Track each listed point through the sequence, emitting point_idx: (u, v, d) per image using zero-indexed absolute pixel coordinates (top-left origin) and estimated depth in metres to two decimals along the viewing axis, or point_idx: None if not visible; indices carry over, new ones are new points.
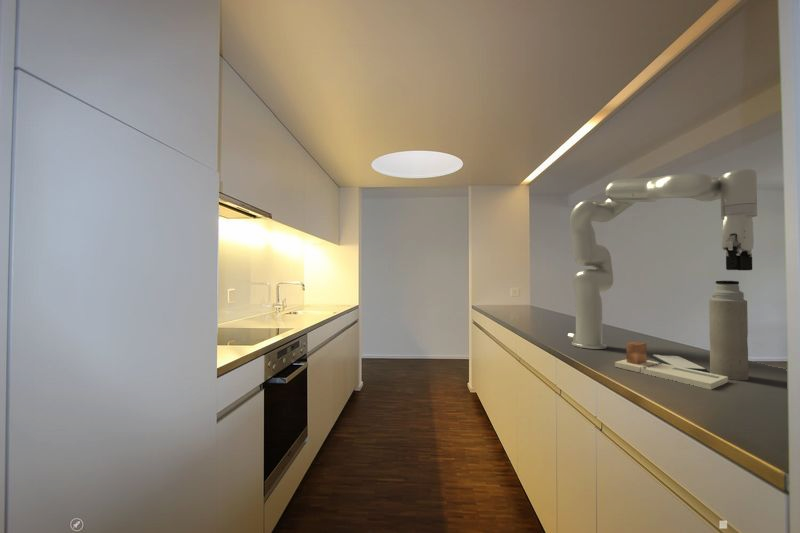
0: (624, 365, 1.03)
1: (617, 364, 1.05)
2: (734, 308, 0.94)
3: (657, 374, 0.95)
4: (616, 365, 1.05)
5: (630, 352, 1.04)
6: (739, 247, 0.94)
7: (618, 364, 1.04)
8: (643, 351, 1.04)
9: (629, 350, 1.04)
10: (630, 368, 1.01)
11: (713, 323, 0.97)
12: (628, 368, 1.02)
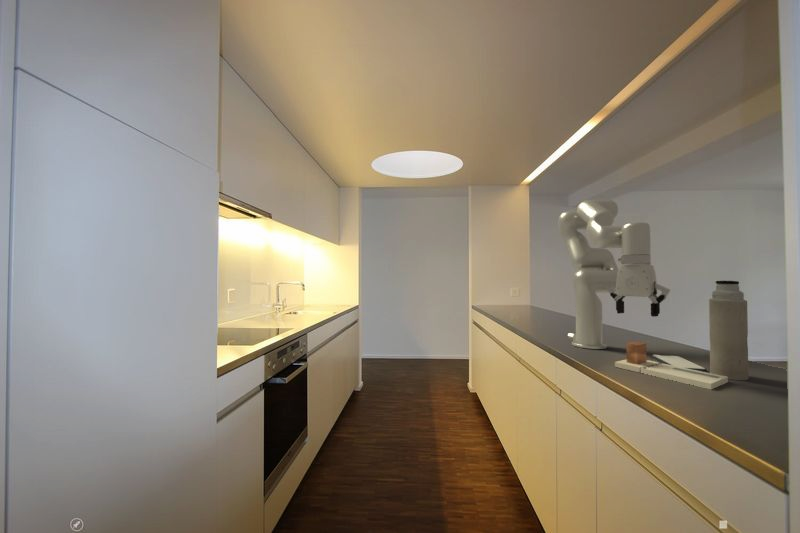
0: (624, 365, 1.03)
1: (617, 364, 1.05)
2: (734, 308, 0.94)
3: (657, 374, 0.95)
4: (616, 365, 1.05)
5: (630, 352, 1.04)
6: (655, 295, 1.02)
7: (618, 364, 1.04)
8: (643, 351, 1.04)
9: (629, 350, 1.04)
10: (630, 368, 1.01)
11: (713, 323, 0.97)
12: (628, 368, 1.02)
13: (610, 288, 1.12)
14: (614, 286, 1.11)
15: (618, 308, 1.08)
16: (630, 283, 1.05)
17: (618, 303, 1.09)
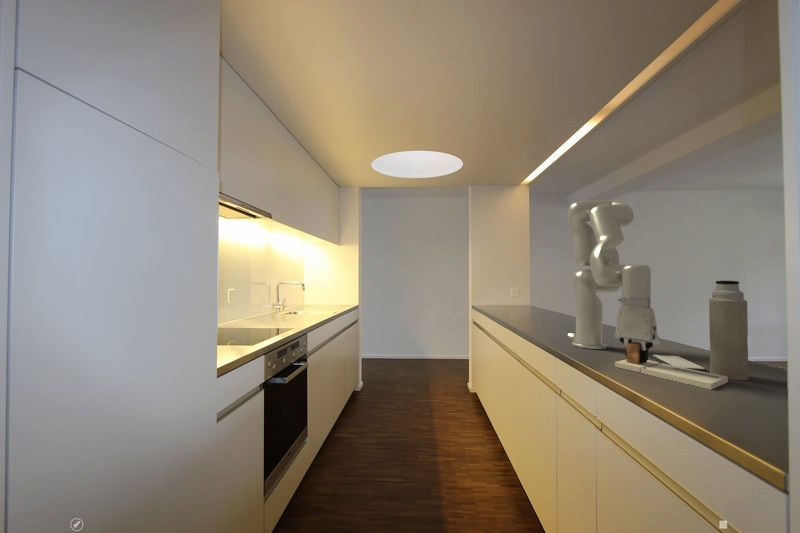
0: (624, 365, 1.03)
1: (617, 364, 1.05)
2: (734, 308, 0.94)
3: (657, 374, 0.95)
4: (616, 365, 1.05)
5: (630, 352, 1.04)
6: None
7: (618, 364, 1.04)
8: None
9: (629, 350, 1.04)
10: (630, 368, 1.01)
11: (713, 323, 0.97)
12: (628, 368, 1.02)
13: (616, 334, 1.10)
14: None
15: None
16: (630, 326, 1.04)
17: None
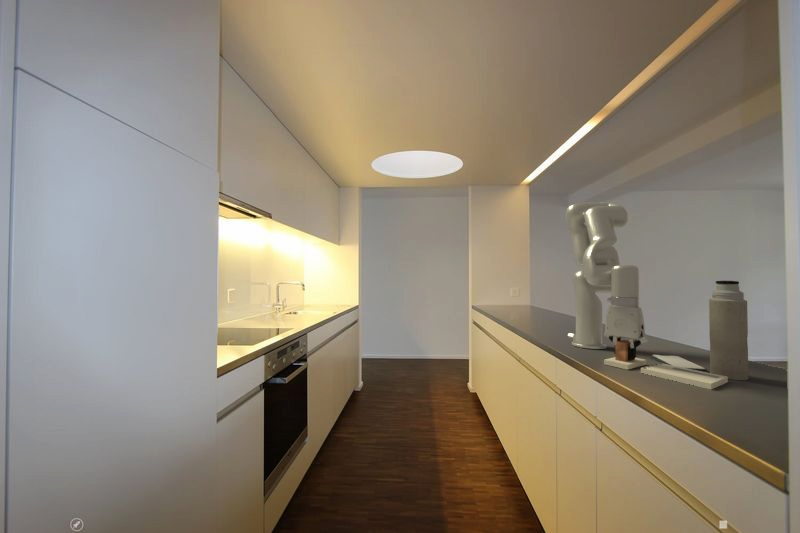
0: (613, 362, 1.06)
1: (606, 362, 1.08)
2: (734, 308, 0.94)
3: (657, 374, 0.95)
4: (605, 362, 1.08)
5: (619, 350, 1.07)
6: None
7: (607, 362, 1.07)
8: None
9: (618, 348, 1.07)
10: (618, 365, 1.04)
11: (713, 323, 0.97)
12: (616, 365, 1.05)
13: (605, 333, 1.13)
14: None
15: None
16: (619, 325, 1.07)
17: None
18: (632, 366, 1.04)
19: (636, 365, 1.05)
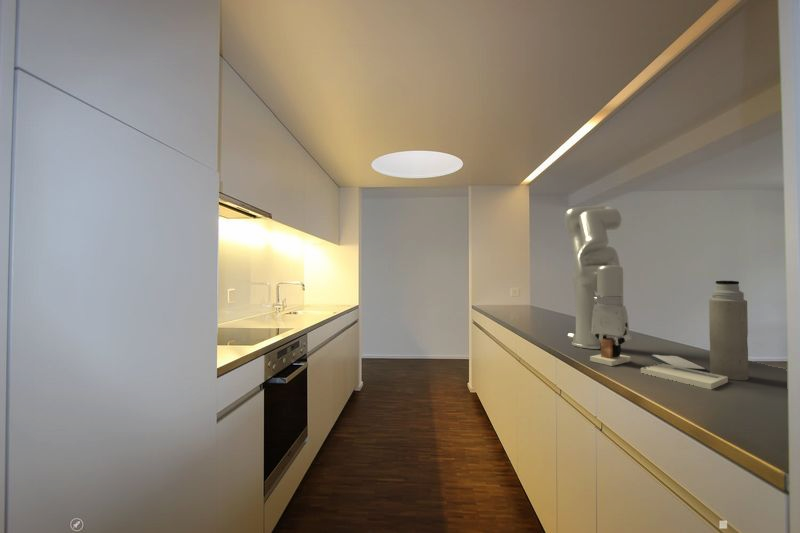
0: (598, 359, 1.10)
1: (592, 358, 1.11)
2: (734, 308, 0.94)
3: (657, 374, 0.95)
4: (591, 359, 1.12)
5: (604, 347, 1.11)
6: None
7: (593, 358, 1.11)
8: None
9: (603, 345, 1.11)
10: (603, 362, 1.08)
11: (713, 323, 0.97)
12: (601, 362, 1.09)
13: (592, 330, 1.17)
14: None
15: None
16: (604, 323, 1.11)
17: None
18: (616, 362, 1.08)
19: (620, 362, 1.09)
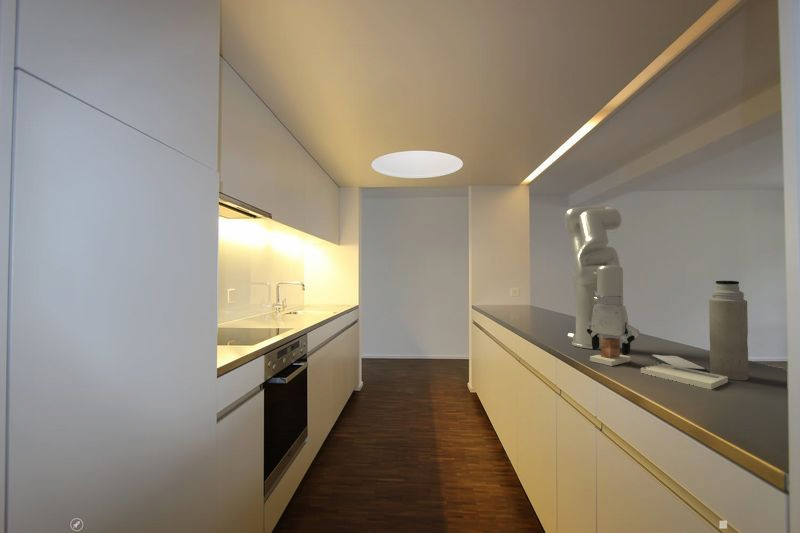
0: (598, 359, 1.10)
1: (592, 358, 1.12)
2: (734, 308, 0.94)
3: (657, 374, 0.95)
4: (591, 359, 1.12)
5: (604, 347, 1.11)
6: (627, 334, 1.09)
7: (593, 358, 1.11)
8: (616, 346, 1.11)
9: (603, 345, 1.11)
10: (603, 362, 1.08)
11: (713, 323, 0.97)
12: (601, 362, 1.09)
13: (586, 324, 1.19)
14: (590, 323, 1.18)
15: (593, 344, 1.16)
16: (604, 323, 1.11)
17: (593, 339, 1.16)
18: (616, 362, 1.08)
19: (620, 362, 1.09)
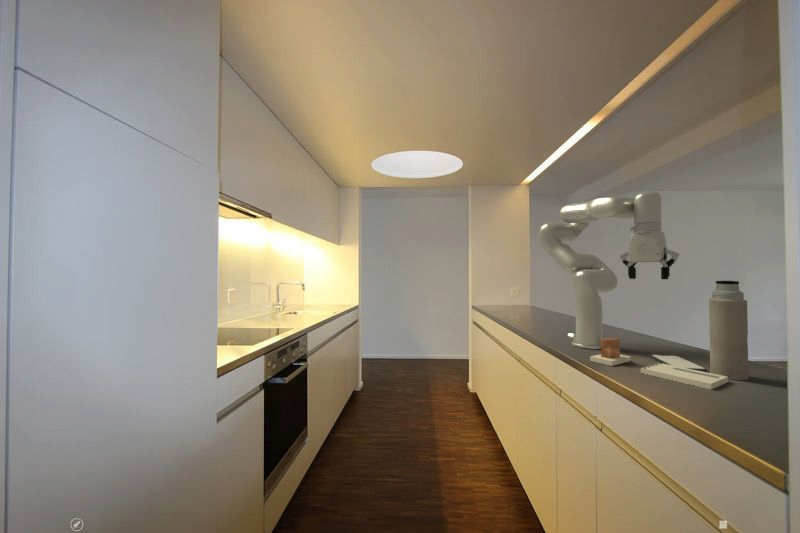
0: (598, 359, 1.10)
1: (592, 358, 1.12)
2: (734, 308, 0.94)
3: (657, 374, 0.95)
4: (591, 359, 1.12)
5: (604, 347, 1.11)
6: (665, 259, 1.09)
7: (593, 358, 1.11)
8: (616, 346, 1.11)
9: (603, 345, 1.11)
10: (603, 362, 1.08)
11: (713, 323, 0.97)
12: (601, 362, 1.09)
13: (622, 256, 1.19)
14: (626, 254, 1.18)
15: (630, 274, 1.16)
16: (642, 250, 1.12)
17: (630, 269, 1.16)
18: (616, 362, 1.08)
19: (620, 362, 1.09)
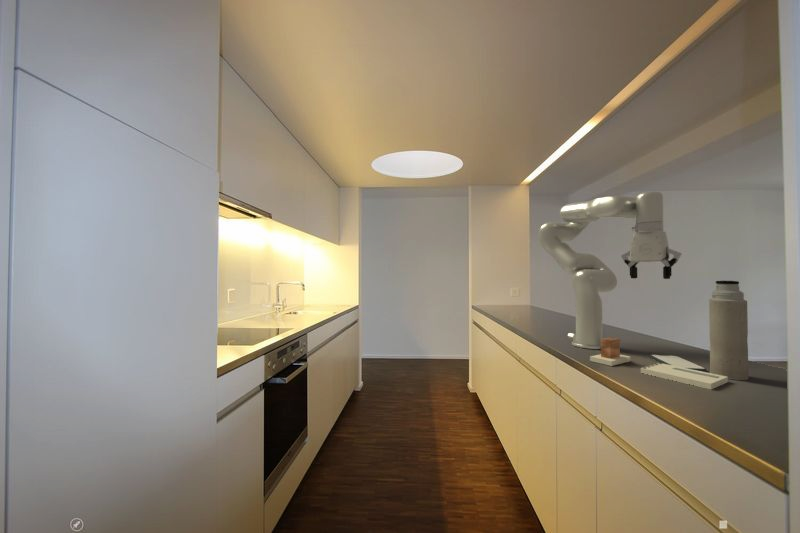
0: (598, 359, 1.10)
1: (592, 358, 1.12)
2: (734, 308, 0.94)
3: (657, 374, 0.95)
4: (591, 359, 1.12)
5: (604, 347, 1.11)
6: (667, 259, 1.09)
7: (593, 358, 1.11)
8: (616, 346, 1.11)
9: (603, 345, 1.11)
10: (603, 362, 1.08)
11: (713, 323, 0.97)
12: (601, 362, 1.09)
13: (624, 255, 1.19)
14: (628, 253, 1.18)
15: (632, 273, 1.16)
16: (644, 249, 1.12)
17: (632, 269, 1.16)
18: (616, 362, 1.08)
19: (620, 362, 1.09)
